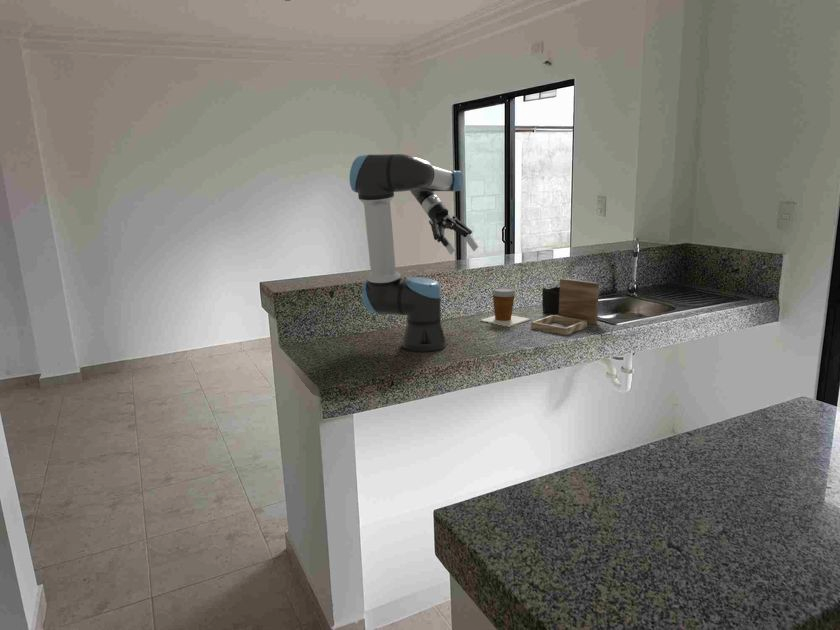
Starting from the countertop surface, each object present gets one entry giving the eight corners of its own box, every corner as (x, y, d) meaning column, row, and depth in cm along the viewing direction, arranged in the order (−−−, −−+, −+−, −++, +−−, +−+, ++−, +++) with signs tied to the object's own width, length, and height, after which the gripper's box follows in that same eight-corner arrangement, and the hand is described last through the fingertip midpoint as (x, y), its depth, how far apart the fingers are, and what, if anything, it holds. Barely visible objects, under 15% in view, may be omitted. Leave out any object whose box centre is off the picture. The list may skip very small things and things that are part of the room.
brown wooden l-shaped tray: (567, 335, 219) (569, 292, 215) (529, 328, 230) (530, 286, 226) (596, 323, 235) (599, 283, 231) (560, 317, 245) (561, 278, 242)
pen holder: (545, 309, 260) (545, 286, 258) (567, 310, 256) (568, 287, 254) (538, 313, 252) (539, 290, 250) (561, 315, 248) (562, 291, 246)
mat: (509, 327, 232) (509, 325, 232) (480, 321, 242) (480, 319, 242) (529, 320, 242) (529, 318, 242) (501, 314, 252) (501, 313, 251)
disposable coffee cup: (488, 320, 240) (489, 291, 237) (494, 315, 248) (494, 286, 245) (512, 322, 236) (513, 292, 234) (517, 316, 245) (518, 287, 242)
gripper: (417, 203, 227) (448, 246, 220) (461, 201, 244) (490, 241, 237) (408, 217, 231) (437, 260, 224) (451, 214, 249) (479, 253, 242)
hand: (464, 250), depth 231 cm, fingers open, 13 cm apart
